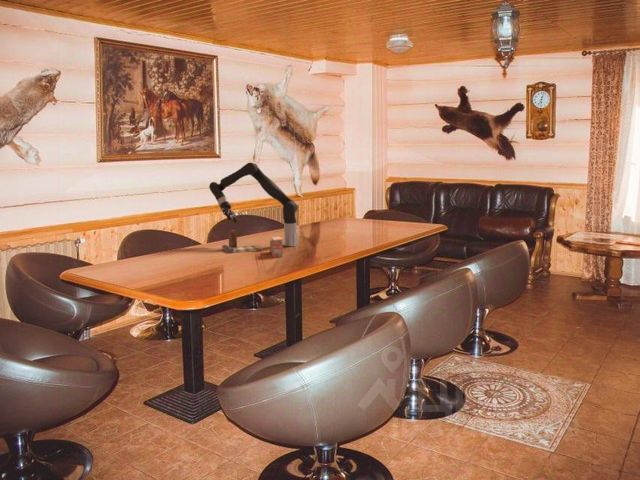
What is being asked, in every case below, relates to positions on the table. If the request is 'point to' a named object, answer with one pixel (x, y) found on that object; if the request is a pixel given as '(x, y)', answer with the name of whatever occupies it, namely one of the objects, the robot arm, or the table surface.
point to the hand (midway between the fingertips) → (233, 220)
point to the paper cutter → (241, 248)
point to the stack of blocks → (276, 246)
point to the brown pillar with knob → (232, 238)
